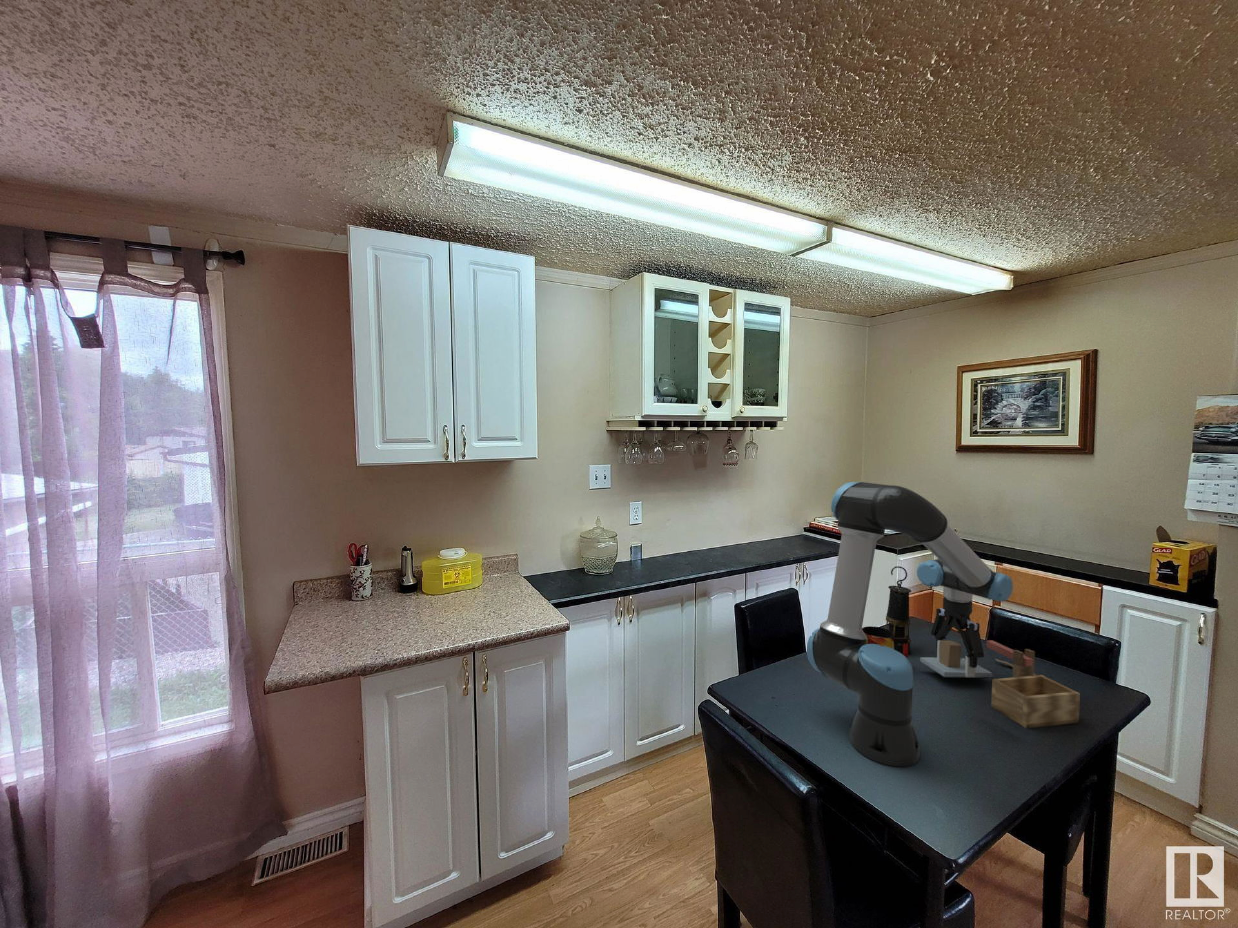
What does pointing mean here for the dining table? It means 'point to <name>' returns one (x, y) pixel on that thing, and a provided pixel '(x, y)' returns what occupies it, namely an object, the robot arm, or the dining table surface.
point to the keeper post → (1018, 666)
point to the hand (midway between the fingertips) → (955, 667)
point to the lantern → (899, 612)
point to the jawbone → (1008, 664)
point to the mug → (884, 638)
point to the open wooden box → (1035, 701)
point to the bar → (1007, 652)
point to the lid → (952, 662)
